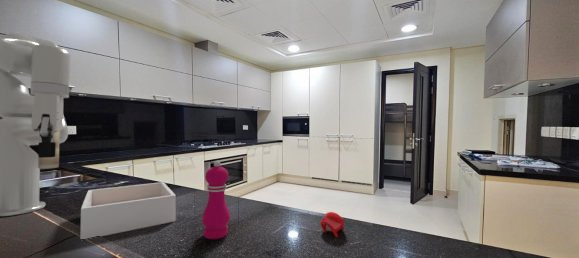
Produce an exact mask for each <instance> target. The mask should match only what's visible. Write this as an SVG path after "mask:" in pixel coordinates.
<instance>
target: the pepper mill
mask: <svg viewBox="0 0 579 258" xmlns="http://www.w3.org/2000/svg"><path fill="white" fill-rule="evenodd" d="M221 164H222V163H221V162H220V161H219V160H216V161H214V162H213V166H211V167H210V168H209V169H207V171H206V173H205V175H204V177H205V181H206V182H207V185H206V187H207V189H206V190H207V192H208V201H207V203H206V206H205V209H204V211H203V214H202V218H201V222H202V224H203V226H204V228H203V237H204V238H206V239H208V240H219V239H223V238H224V237H226V236H227V235H228V233H229V227H228V223H229V222H230V220H231V214H230V209H229V208H228V205H227V201H226V198H225V191H226V190H227V184H226V182H228V179H229V171H228V169H226V168H225V167H222V166H221Z"/></svg>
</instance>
